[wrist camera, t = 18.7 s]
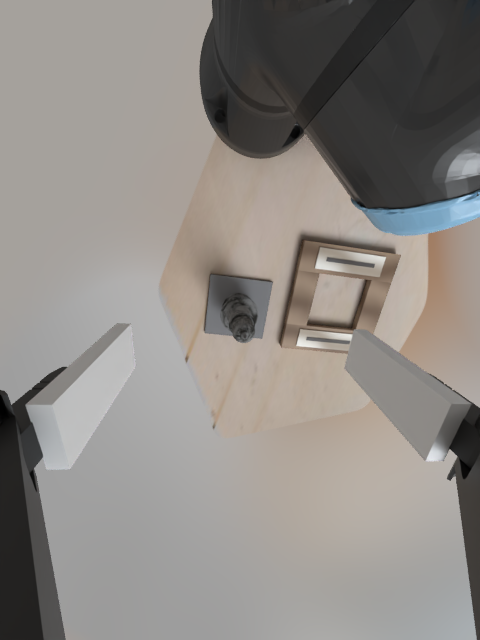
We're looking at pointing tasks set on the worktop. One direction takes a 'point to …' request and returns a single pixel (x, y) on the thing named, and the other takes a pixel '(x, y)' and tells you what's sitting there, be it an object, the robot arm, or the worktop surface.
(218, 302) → the rubber mat
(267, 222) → the worktop surface
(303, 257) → the label board
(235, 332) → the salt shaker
